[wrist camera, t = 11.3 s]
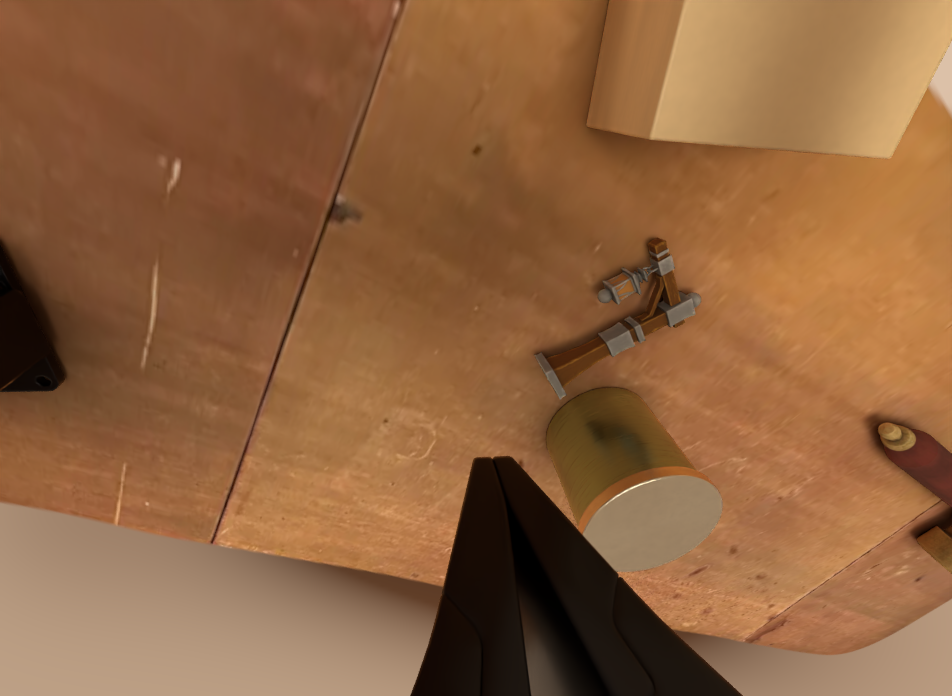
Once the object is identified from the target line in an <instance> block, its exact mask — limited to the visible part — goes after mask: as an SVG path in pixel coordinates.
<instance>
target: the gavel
mask: <svg viewBox="0 0 952 696" xmlns="http://www.w3.org/2000/svg"><path fill="white" fill-rule="evenodd" d="M878 432H879V434H880V435H881V436H880V438H881V441H882V443H883V444H884V449H885V453H886V455H887V457H888V458H889V459H890V460H891V461H892V462H894V463H895V464H896V465H898V466H899V467H900V468H901V469H903V470H904V471H905V472H907V473H908V474H909V475H911V476H912V477H913V478H914V479H916V480H917V481H918V482H920V483H921V484H922V485H924V486H925V487H926V488H927V489H929V490H930V491H931V492H933V493H934V494H935V495H937V496H938V497H939V498H940V499H942V500H943V501H944V502H946V503H947V504H948V505H950V506H951V507H952V454H951V453H950V452H949V451H948V450H947V449H945V448H944V447H943V446H942V445H941V444H940V443H938V442H937V441H936V440H935V439H934V438H933V437H931V436H930V435H929V434H927V433H925V432H922V431H919V430H914V429H908V428H906V427H904V426H900V425H895V424H892V423H883V424H881V425H880V426H879V427H878ZM917 541H918V544H919V545H920V546H921V547H922V548H923V549H924V550H925V551H926V552H927V553H928V554H930V555H931V556H932V557H933V558H934V559H935V560H936V561H937V562H939V563H940V564H941V565H942V566H943V567H944V568H945V569H947V570H948V571H949V572H950V573H951V574H952V526H950V527H949V528H947V529H946V530H943V529H941V528H940V527H938V526H935V527H934V528H932V529H931V530H929V531H928V532H926V533H924V534H923V535H921V536H920V537H918V538H917Z"/></svg>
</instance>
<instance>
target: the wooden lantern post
mask: <svg viewBox="0 0 952 696" xmlns="http://www.w3.org/2000/svg"><path fill="white" fill-rule="evenodd" d="M647 245H648V247H649V250H650V251H649V253H650V254H651V257H650V262H651V266H649V267H645V268H643V269H640V268H638V267H637V270H638V273H637V272H635V271H634V273H631V272H630V271H628V270H627V269H625V268H623V267H622V268H621V269H622V272H623V273H621V274H620V275H618V276H616V277H614V278H612V279H610V280H607V281H604V280H603V281H602V282H603V284H604V287H605V289H602V290H600V291H599V293H598V299H599V301H600V302H602V303H608V302H609V301H611V299H612V300H613V301H614V302H615V303H617V304H618V305H619V304H620V302H621V301H622V300H623V299H624V298H626V297H627V296H629V295H630V294H632V293H634V292H636V293H638V294H639V295H640V294H641V290H640V282H642V279H643V280H645V281H646V282H648V278H647V277H648V276H649V275H650V273H651V272H656V285H655V288H654V290H653V293H652V296H651V298H650V301H649V304H648V306H647V309H646V312H645V313H643V314H642V315H640V316H638V317H636V318H634V319H632V318H631V317H630V316H629V317H628V318H626V319H624V320H625V322H626V323H624V324H621V323H620V322H618V323H617V324H616V325H615V326H613V327H611V328H609V329H607V330H606V331H604V332H600V333H598V335H599V337H597V338H596V339H594V340H592V341H590V342H588V343H586V344H584V345H581V346H579V347H576V348H574V349H571V350H569V351H566V352H564V353H561V354H559V355H555V356H552V357H548V358H545V357H544V356H543V354H542V352H541V353H540V354H537V355H534V356H535V357H536V359H537V361H538V363H539V365H540V366H541V368H542V370H543V372H544V373H545V375H546V377H547V379H548V380H549V382H550V384H551V385H552V387H553V389H554V390H555V392H556V393H557V395H558V397H559V398H560V400H561V398H562V397H563V396H565V395H566V393H565V391H564V389H563V388H564V387H565V386H566V385H567V384H568V383H569V382H571V381H572V380H573V379H574V378H576V377H577V376H578V375H580V374H581V373H583V372H584V371H585V370H587V369H588V368H590V367H591V366H592V365H594V364H595V363H597V362H598V361H600V360H602V359H603V358H605V357H607V356H609V355H611V356H612V357H614V356H615V355H617V354H618V353H620V352H622V351H624V350H626V349H628V348H630V347H634V346H635V345H634V342H636V341H638V342H639V343H641V342H642V341H646V340H645V336H647V335H649V334H650V333H652V332H654V331H656V330H658V329H660V328H662V327H664V326H666V325H668V326H669V327H672V326H673V327H675V328H676V327H678V326H680V325H682V324H684V323H685V321H684V319H686V318H688V317H690V316H693V315H695V310H694V308H695V307H697V306H698V305H699V304H700V303H701V297H700V295H699V294H697V293H693V292H692V293H689V294H687V295H685V294H684V293H682V292H680V291H679V292H678V289H677V285H676V281H675V277H674V273H673V269H675V267H674V263H673V259H672V255H670V254H669V253H668V252H669V249H668V248H667V243H666V241H664V240H662V239H659V238H656V239H655V240H653V241H651V242H649V243H648V244H647ZM650 268H652V269H653V270H651V269H650ZM645 269H647V270H646V271H647V272H649V273H648V274H647V273H646V271H644V270H645ZM642 283H643V282H642ZM661 293H662V296H663V299H664V301H662V302H659V303H658V301H659V298H660V295H661Z"/></svg>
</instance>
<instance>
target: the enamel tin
mask: <svg viewBox="0 0 952 696" xmlns="http://www.w3.org/2000/svg"><path fill="white" fill-rule="evenodd" d="M546 445H547V449H548V452H549V454H550V457H551V459H552V462H553V464H554V467H555V469H556V472H557V474H558V477H559V479H560V482H561V485H562V487H563V490H564V492H565V495H566V497H567V500H568V502H569V505H570V507H571V510H572V512H573V515H574V517H575V520H576V522H577V525H578V530H579V531H580V532H581V534H582V535H583V536H584V537H585V538H586V539H587V540H588V541H589V542H590V543H591V545H592V546H593V547H594V548H595V549H596V550H597V551H598V552H599V553H600V554H601V556H602V557H603V558H604V559H605V560H606V561H607V562H608V563H609V564H610V565H611V567H612V568H613V569H614V570H615V571H616V572H634V571H641V570H646V569H651V568H654V567H658V566H661V565H664V564H666V563H669V562H671V561H673V560H675V559H677V558H679V557H681V556H683V555H685V554H686V553H688V552H690V551H691V550H692V549H694V548H695V547H697V546H698V545H699V544H700V543H701V542H703V541H704V540H705V539H706V538H707V537H708V536H709V534H710V533H711V532H712V531H713V529H714V528H715V526H716V525H717V523H718V521H719V519H720V517H721V513H722V507H723V503H722V497H721V495H720V492H719V491H718V489H717V488H716V487H715V485H714V484H713V483H712V482H711V480H710V479H709V478H708V477H707V476H705V475H704V474H702V473H701V472H699V471H697V470H696V469H695V467H694V466H693V465H692V463H691V462H690V461H689V459H688V458H687V457H686V455H685V454H684V453H683V452H682V450H681V449H680V448H679V446H678V445H677V444H676V442H675V441H674V440H673V438H672V437H671V436H670V435H669V433H668V432H667V431H666V429H665V428H664V427H663V425H662V424H661V423H660V422H659V420H658V419H657V418H656V416H655V415H654V414H653V412H652V411H651V410H650V408H649V407H648V406H647V405H646V403H645V402H644V401H643V400H642V399H641V398H640V397H639V396H638V395H637V394H635V393H633V392H631V391H629V390H625V389H621V388H600V389H595V390H592V391H588V392H586V393H583V394H581V395H579V396H577V397H575V398H574V399H572V400H571V401H569V402H568V403H567V404H565V405H564V406H563V407H562V408H561V409H560V410H559V411H558V412H557V413H556V415H555V416H554V417H553V419H552V420H551V422H550V424H549V427H548V430H547V434H546Z"/></svg>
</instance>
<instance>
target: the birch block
mask: <svg viewBox="0 0 952 696" xmlns="http://www.w3.org/2000/svg"><path fill="white" fill-rule="evenodd" d="M951 41H952V0H609V4H608V10H607V15H606V21H605V26H604V31H603V37H602V42H601V48H600V53H599V58H598V64H597V69H596V75H595V80H594V85H593V91H592V96H591V102H590V107H589V113H588V118H587V123H586V126H587V127H589V128H594V129H599V130H604V131H609V132H614V133H619V134H623V135H628V136H633V137H638V138H643V139H648V140H656V141H668V142H681V143H693V144H706V145H718V146H731V147H743V148H756V149H768V150H780V151H793V152H805V153H818V154H830V155H843V156H855V157H867V158H880V159H889V158H891V157H892V155H893V153H894V151H895V149H896V147H897V145H898V143H899V141H900V139H901V137H902V136H903V134H904V132H905V130H906V128H907V126H908V124H909V122H910V120H911V118H912V116H913V114H914V112H915V111H916V109H917V107H918V105H919V103H920V101H921V99H922V97H923V95H924V93H925V91H926V89H927V87H928V86H929V84H930V82H931V80H932V78H933V76H934V74H935V72H936V70H937V68H938V66H939V64H940V62H941V61H942V59H943V56H944V55H945V53H946V51H947V49H948V47H949V45H950V43H951Z"/></svg>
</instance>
